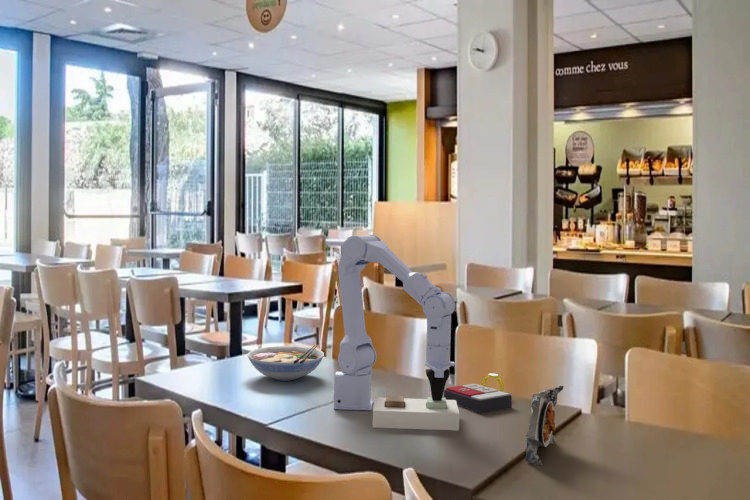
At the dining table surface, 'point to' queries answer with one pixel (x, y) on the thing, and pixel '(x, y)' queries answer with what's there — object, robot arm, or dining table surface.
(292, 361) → the ramen bowl
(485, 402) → the calculator
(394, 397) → the walnut key
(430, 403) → the sage key
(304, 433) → the dining table surface
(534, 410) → the meal
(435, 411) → the key panel
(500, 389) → the watch
